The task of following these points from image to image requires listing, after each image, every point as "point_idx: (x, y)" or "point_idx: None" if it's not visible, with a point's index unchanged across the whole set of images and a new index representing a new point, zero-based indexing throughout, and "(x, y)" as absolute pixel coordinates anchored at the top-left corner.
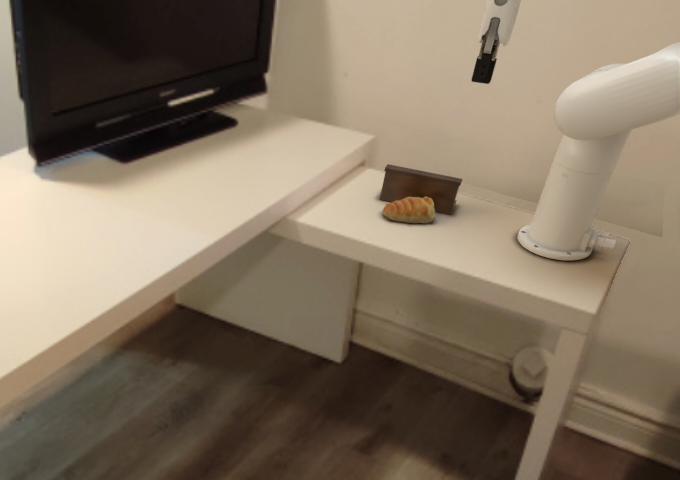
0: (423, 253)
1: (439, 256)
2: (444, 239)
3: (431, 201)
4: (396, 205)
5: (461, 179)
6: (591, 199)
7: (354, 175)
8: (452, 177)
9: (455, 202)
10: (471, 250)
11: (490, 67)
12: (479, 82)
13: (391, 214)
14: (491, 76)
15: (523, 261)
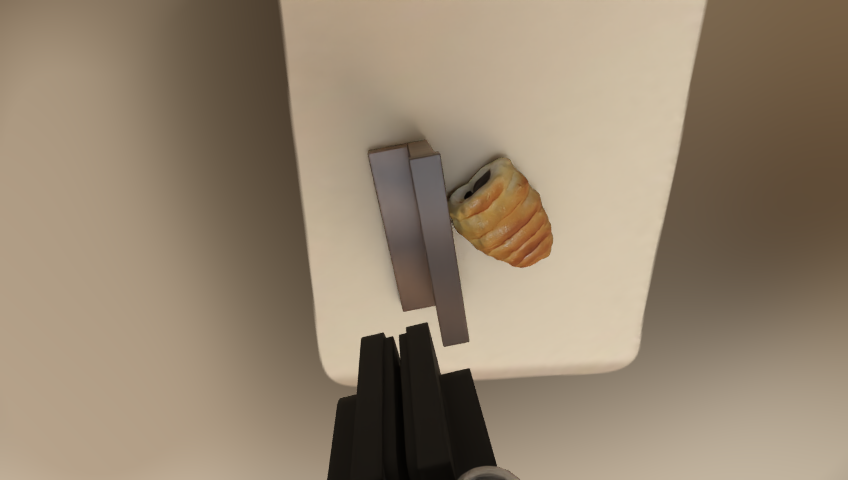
0: (656, 112)
1: (654, 75)
2: (564, 99)
3: (493, 188)
4: (536, 246)
5: (416, 160)
6: None
7: None
8: (419, 186)
9: (383, 151)
10: (587, 20)
11: (449, 426)
12: (440, 373)
13: (552, 239)
14: (429, 352)
15: None
